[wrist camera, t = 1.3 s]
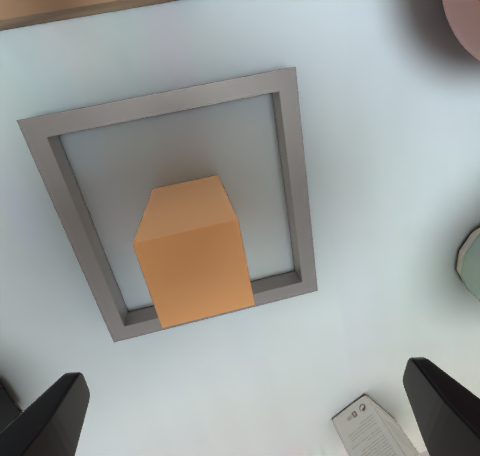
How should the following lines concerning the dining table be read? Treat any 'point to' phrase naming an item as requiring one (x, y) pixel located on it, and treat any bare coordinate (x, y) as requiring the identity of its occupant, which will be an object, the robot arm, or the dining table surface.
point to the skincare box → (371, 431)
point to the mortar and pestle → (465, 23)
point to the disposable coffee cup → (470, 263)
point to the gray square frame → (50, 126)
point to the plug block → (192, 252)
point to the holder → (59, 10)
